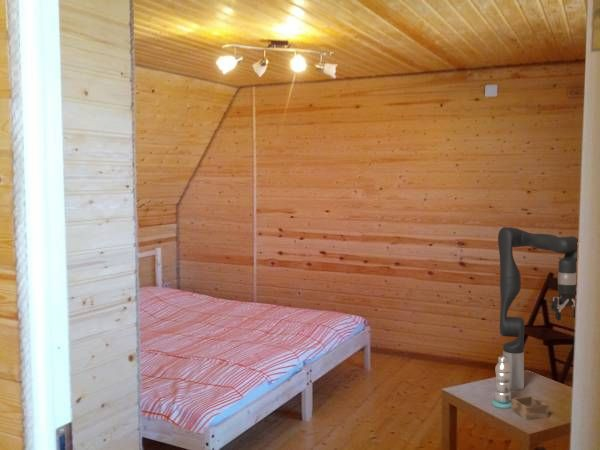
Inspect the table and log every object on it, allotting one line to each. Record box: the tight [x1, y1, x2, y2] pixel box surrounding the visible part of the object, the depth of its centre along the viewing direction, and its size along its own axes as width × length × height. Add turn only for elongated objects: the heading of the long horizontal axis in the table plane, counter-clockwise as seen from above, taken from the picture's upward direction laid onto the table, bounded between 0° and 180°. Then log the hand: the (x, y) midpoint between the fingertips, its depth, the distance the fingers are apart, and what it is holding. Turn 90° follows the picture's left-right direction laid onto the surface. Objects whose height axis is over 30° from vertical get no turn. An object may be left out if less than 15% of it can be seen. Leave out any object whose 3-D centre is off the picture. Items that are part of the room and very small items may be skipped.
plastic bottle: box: [494, 355, 512, 403], centre depth 261 cm, size 6×7×20 cm
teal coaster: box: [491, 398, 511, 410], centre depth 261 cm, size 9×9×1 cm
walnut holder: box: [510, 395, 549, 421], centre depth 251 cm, size 11×10×5 cm
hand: (567, 319), depth 261 cm, fingers open, 8 cm apart
